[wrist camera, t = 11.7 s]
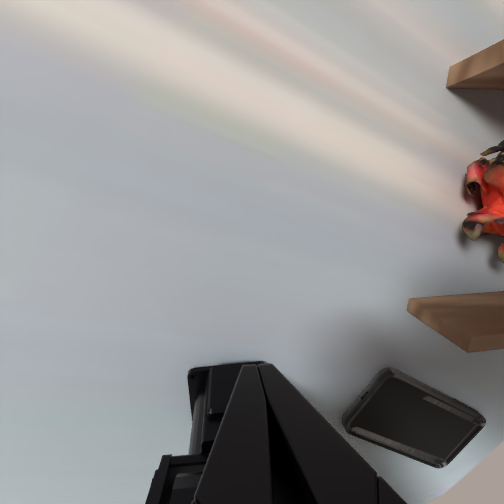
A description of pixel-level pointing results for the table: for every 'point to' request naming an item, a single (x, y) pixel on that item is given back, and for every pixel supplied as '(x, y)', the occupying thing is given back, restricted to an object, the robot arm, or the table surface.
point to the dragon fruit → (487, 196)
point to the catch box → (479, 304)
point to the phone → (412, 419)
